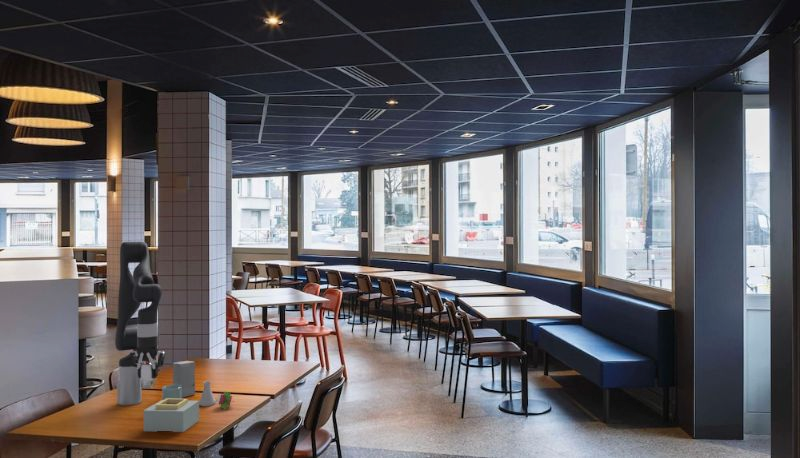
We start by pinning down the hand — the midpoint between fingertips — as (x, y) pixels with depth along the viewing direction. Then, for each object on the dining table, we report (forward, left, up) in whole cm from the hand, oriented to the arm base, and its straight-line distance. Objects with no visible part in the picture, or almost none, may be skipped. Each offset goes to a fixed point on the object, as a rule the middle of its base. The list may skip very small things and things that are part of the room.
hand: (147, 377), depth 229 cm
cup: (-2, +23, -20) cm, 30 cm away
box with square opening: (+8, +3, -20) cm, 22 cm away
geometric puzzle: (+20, +28, -20) cm, 40 cm away
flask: (+10, +32, -20) cm, 39 cm away
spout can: (0, 0, -3) cm, 3 cm away
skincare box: (-7, +45, -20) cm, 49 cm away
